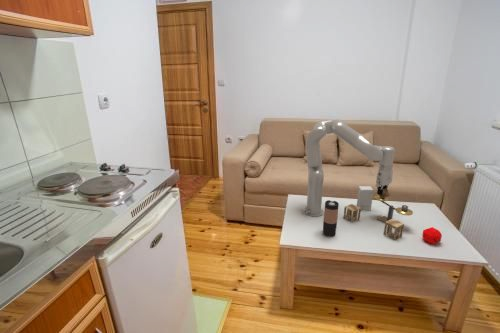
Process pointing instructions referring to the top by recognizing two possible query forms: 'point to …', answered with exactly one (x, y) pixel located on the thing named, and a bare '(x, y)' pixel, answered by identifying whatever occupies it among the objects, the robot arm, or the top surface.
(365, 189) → the skincare box
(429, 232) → the ball
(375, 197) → the balance
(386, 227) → the cover right
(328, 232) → the travel mug
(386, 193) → the block
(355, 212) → the wooden slatted crate
